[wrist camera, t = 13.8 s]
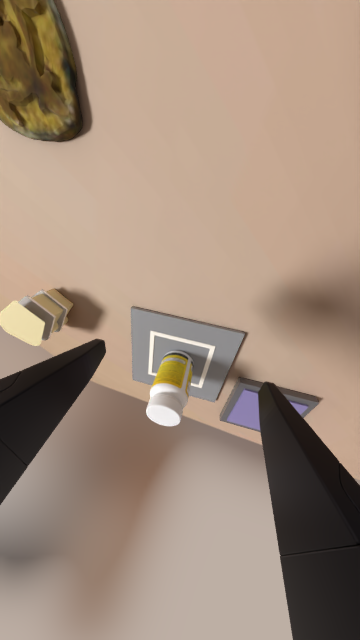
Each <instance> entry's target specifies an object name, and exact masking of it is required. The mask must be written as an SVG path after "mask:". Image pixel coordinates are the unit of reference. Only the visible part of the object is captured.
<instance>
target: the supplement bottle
mask: <svg viewBox="0 0 360 640" xmlns="http://www.w3.org/2000/svg"><path fill="white" fill-rule="evenodd" d="M193 367H194V362H193V360H192V358H191V357H190V356H189V355H188V354H186V353H184V352H182V351H176V350H175V351H170V352H168V353H167V354H165V356H164V358H163V360H162V362H161V365H160V367H159V370H158V372H157V375H156V377H155V380H154V382H153V385H152V387H151V390H150V397H151V399H150V400H149V404H148V407H147V410H146V413H147V416H148V417H149V418H150V419H151V420H152V421H154V422H156V423H158V424H160V425H164V426H175V425H177V424H179V423H180V421H181V417H182V413H183V408H184V407H185V406H186V404H187V402H188V397H189V391H190V385H191V379H192V373H193Z"/></svg>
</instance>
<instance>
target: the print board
mask: <svg viewBox="0 0 360 640" xmlns="http://www.w3.org/2000/svg"><path fill="white" fill-rule="evenodd" d="M131 334H132V373H133V380H135V381H138V382H142V383H146V384H149V385H153V382H154V380H155V377H156V375H157V372H158V370H159V367H160V365H161V362H162V360H163V358H164V356H165V354H167V353H168V352H170V351H175V350H176V351H182V352H184V353H186V354H188V355H189V356H190V357H191V358H192V360H193V362H194V367H193V373H192V379H191V385H190V391H189V396H193V397H196V398H200V399H204V400H207V401H211V402H215V400H216V398H217V396H218V394H219V391H220V389H221V387H222V385H223V382H224V380H225V378H226V376H227V373H228V371H229V369H230V367H231V364H232V362H233V360H234V358H235V355H236V353H237V351H238V349H239V346H240V344H241V342H242V340H243V337H244V335H245V333H244V332H242V331H238V330H234V329H229V328H225V327H221V326H216V325H212V324H208V323H203V322H199V321H194V320H190V319H186V318H181V317H177V316H173V315H168V314H164V313H160V312H155V311H151V310H146V309H142V308H138V307H133V306H132V307H131Z"/></svg>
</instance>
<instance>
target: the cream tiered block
mask: <svg viewBox="0 0 360 640" xmlns="http://www.w3.org/2000/svg"><path fill="white" fill-rule="evenodd" d="M72 306H73V303H71V302H70V301H69V300H68V299H66V298H65V297H64V296H63V295H61V294H60V293H59V292H58V291H56V290H55V289H51V290H49V291H47V292H46V291H44V290H40V291H39V292H38V293H36V294H35V295H34V296H33V297H30V296H28V295H27V296H25V297H24V298H23V299H21V300H20V301H19V302H17V301H13V302H12V303H11V304H10V305H8V306H7V307H6V308H5V309H4V310H2V311H1V312H0V325H1V326H2V328H3V329H4V330H5V331H6V332H7V333H9V334H11V335H13V336H15V337H17V338H19V339H21V340H23V341H25V342H27V343H29V344H31V345H34V346H38V345H40V343H41V340H47V339H49V338H50V336H51V333H53V332H59V331H60V330H61V329H62V327H63V325H64V324H66V323H67V322H68V318H67V314H68V313H69V311H70V309H71V308H72Z"/></svg>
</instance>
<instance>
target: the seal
mask: <svg viewBox="0 0 360 640" xmlns="http://www.w3.org/2000/svg"><path fill="white" fill-rule="evenodd" d="M76 79H77V73H76V65H75V62H74V58H73V54H72V51H71V47H70V44H69V41H68V37H67V34H66V31H65V28H64V26H63V23H62V21H61V18H60V15H59V12H58V10H57V8H56V5H55V3H54V0H0V120H1V121H2V122H3V123H4V124H5V125H7V126H8V127H9V128H11V129H12V130H14V131H16V132H18V133H20V134H22V135H24V136H26V137H28V138H31V139H37V140H43V141H57V142H59V141H63V140H68V139H71V138H72V137H74V136H75V135H76V134H77V133H78V132H79V131H80V129H81V128H82V116H81V112H80V108H79V100H78V95H77V92H76V89H75V82H76Z"/></svg>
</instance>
